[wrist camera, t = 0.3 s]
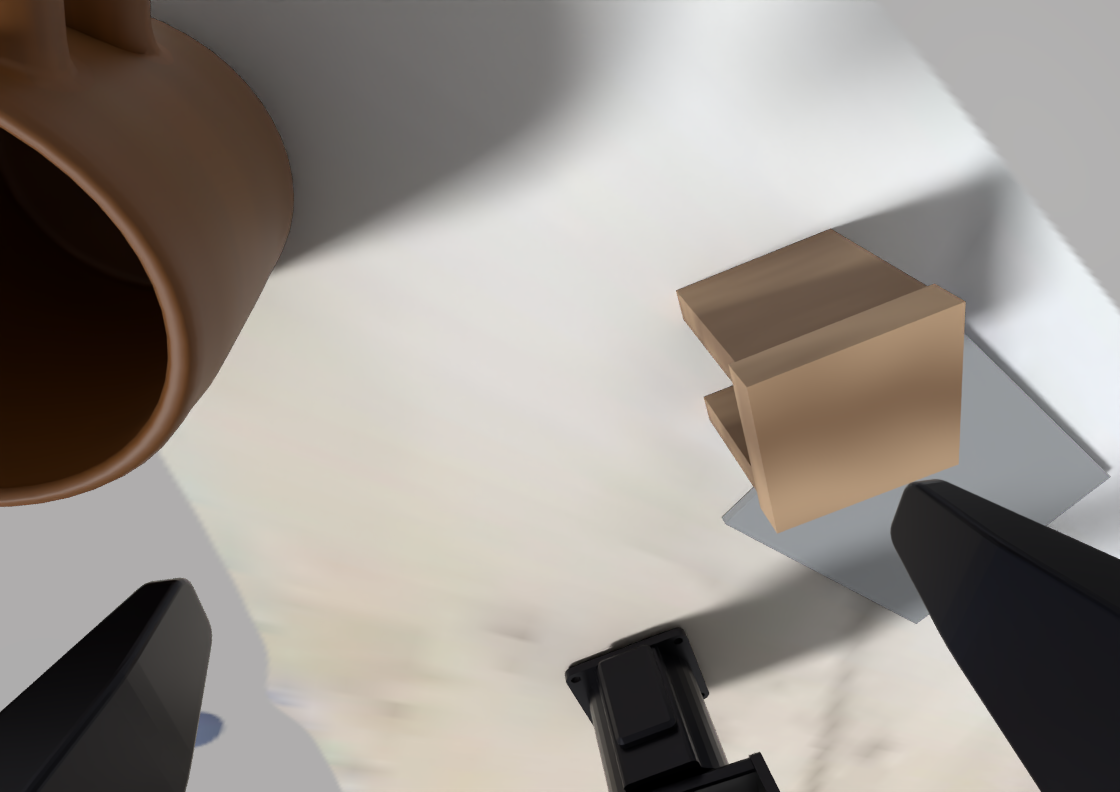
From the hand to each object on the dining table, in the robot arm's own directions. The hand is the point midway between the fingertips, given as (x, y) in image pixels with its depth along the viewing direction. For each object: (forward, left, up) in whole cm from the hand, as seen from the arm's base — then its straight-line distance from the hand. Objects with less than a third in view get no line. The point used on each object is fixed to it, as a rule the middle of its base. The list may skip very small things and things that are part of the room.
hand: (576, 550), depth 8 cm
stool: (-8, -8, -14) cm, 18 cm away
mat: (-20, -14, -14) cm, 28 cm away
